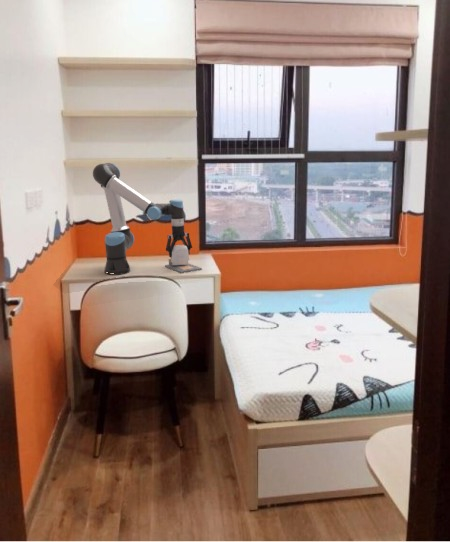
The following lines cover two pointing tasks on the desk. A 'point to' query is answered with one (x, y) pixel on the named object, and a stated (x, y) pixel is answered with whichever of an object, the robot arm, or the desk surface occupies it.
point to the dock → (182, 267)
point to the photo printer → (180, 255)
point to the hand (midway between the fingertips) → (179, 261)
